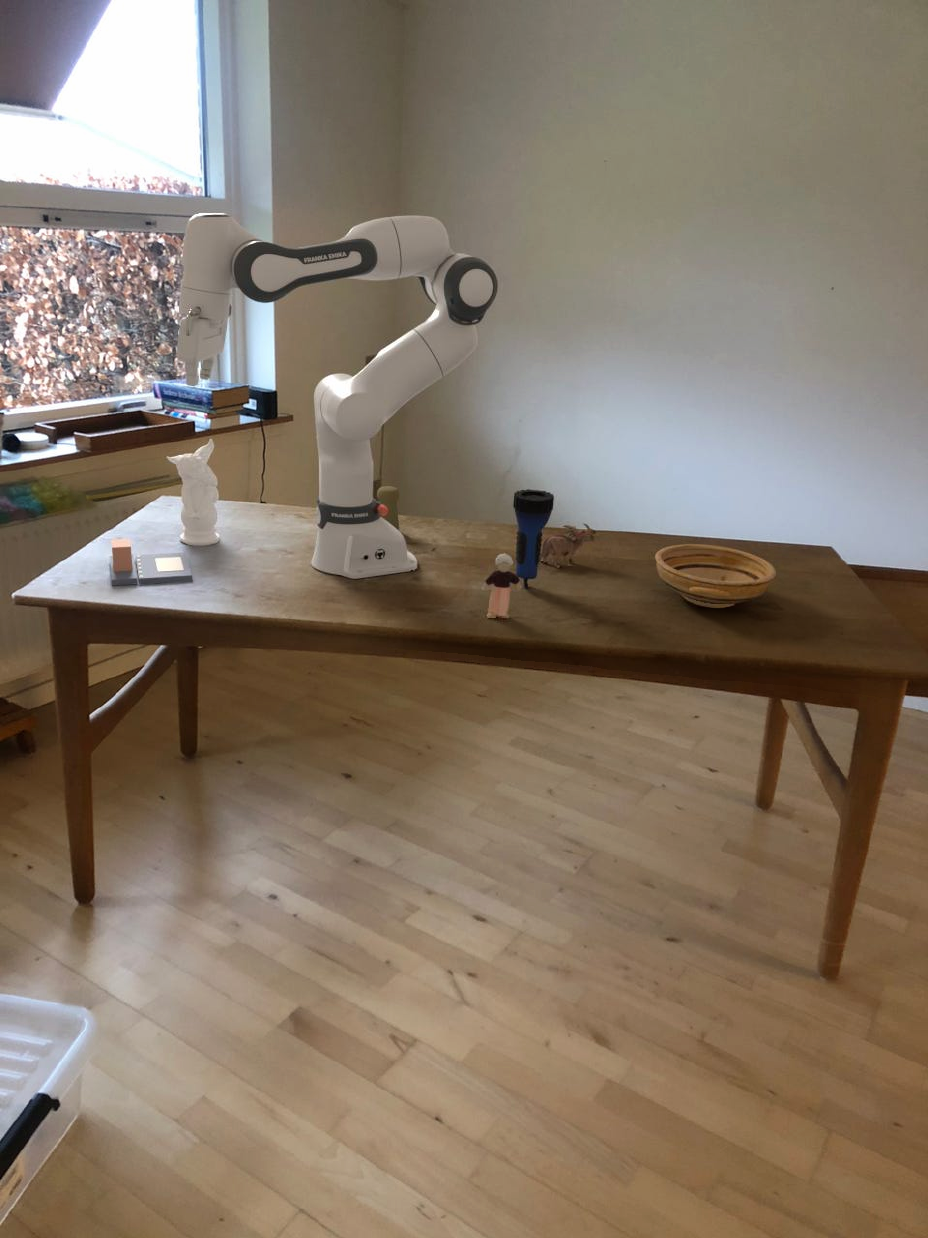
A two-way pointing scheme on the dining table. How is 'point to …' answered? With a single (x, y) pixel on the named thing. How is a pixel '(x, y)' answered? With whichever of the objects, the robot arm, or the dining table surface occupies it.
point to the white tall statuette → (198, 497)
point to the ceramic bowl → (714, 573)
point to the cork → (389, 504)
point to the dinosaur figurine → (566, 544)
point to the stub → (122, 563)
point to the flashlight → (530, 529)
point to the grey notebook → (163, 568)
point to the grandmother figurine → (501, 587)
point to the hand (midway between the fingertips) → (198, 382)
